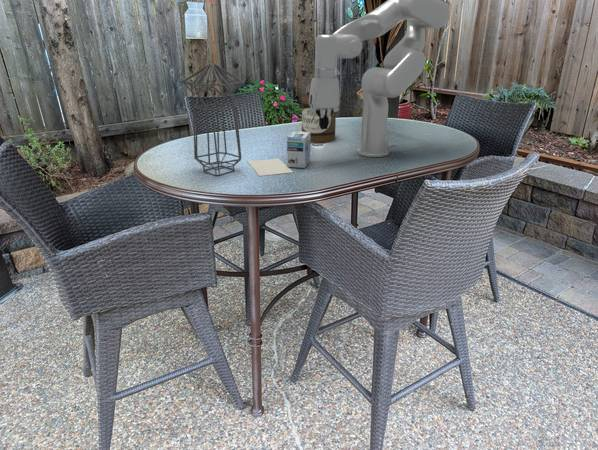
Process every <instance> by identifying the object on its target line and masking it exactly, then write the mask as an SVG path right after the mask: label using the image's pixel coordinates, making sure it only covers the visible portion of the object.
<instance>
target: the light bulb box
mask: <svg viewBox="0 0 598 450" xmlns="http://www.w3.org/2000/svg"><path fill="white" fill-rule="evenodd" d="M310 141H311V132H302V131H298V130H293V131H292V132H290V134H289V135H288V136H287V137H286V147H287V148H286V153H287V154H286V166H287V167H289V168H301V169H306V168H307V166H308V164H309V163H310V162H311V142H310Z"/></svg>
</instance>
